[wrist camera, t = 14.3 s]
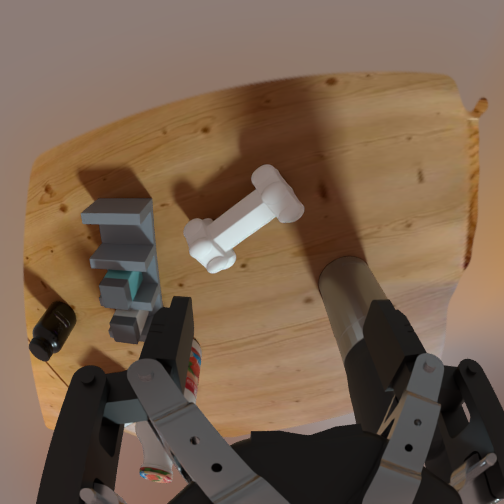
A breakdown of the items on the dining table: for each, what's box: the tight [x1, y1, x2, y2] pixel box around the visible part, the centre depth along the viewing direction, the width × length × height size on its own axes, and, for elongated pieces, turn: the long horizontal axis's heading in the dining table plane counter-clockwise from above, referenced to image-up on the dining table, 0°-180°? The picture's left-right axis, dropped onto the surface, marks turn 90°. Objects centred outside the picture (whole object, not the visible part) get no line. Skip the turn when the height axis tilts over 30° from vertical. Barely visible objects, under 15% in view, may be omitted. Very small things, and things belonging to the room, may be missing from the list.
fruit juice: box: [135, 339, 202, 483], centre depth 45 cm, size 9×9×28 cm
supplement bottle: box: [29, 301, 76, 361], centre depth 48 cm, size 7×7×12 cm
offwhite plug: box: [110, 309, 149, 344], centre depth 47 cm, size 4×4×8 cm
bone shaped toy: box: [183, 164, 304, 273], centre depth 40 cm, size 15×9×8 cm, turn 128°
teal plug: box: [99, 269, 143, 310], centre depth 43 cm, size 4×4×8 cm
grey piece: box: [81, 198, 163, 342], centre depth 45 cm, size 23×9×6 cm, turn 176°
